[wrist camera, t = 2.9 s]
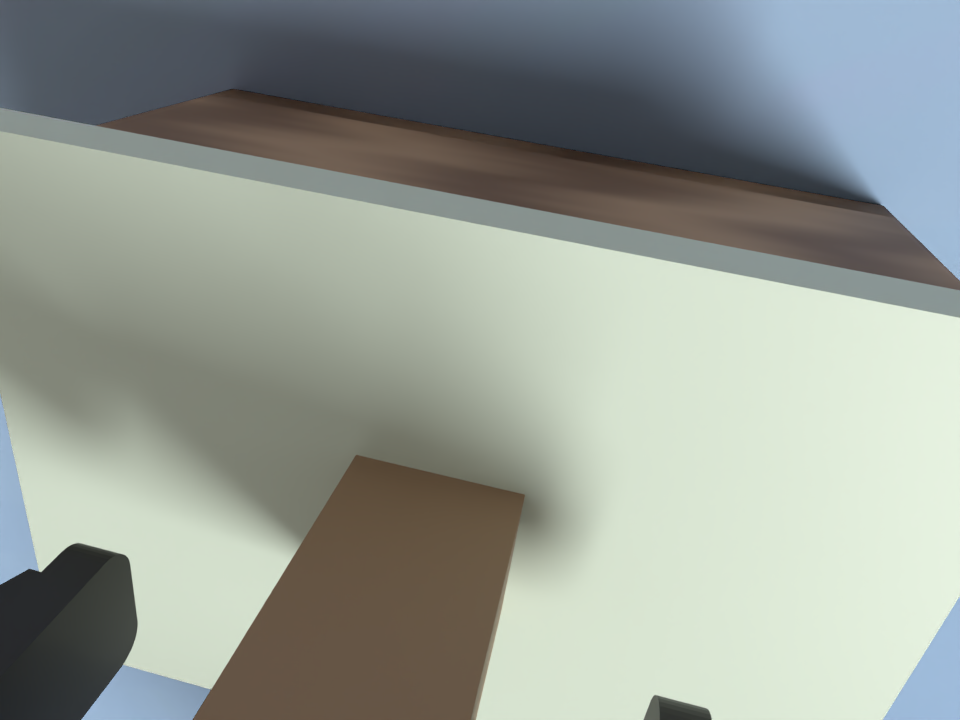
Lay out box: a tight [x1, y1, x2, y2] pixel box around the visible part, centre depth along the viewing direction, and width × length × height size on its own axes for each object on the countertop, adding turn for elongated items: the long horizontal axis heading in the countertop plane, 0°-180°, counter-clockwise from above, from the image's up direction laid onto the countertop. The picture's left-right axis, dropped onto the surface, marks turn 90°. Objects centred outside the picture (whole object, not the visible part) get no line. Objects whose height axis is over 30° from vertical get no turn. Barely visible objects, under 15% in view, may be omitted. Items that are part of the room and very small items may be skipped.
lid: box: [0, 108, 960, 720], centre depth 11 cm, size 17×12×9 cm
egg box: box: [96, 89, 960, 290], centre depth 17 cm, size 16×11×7 cm
